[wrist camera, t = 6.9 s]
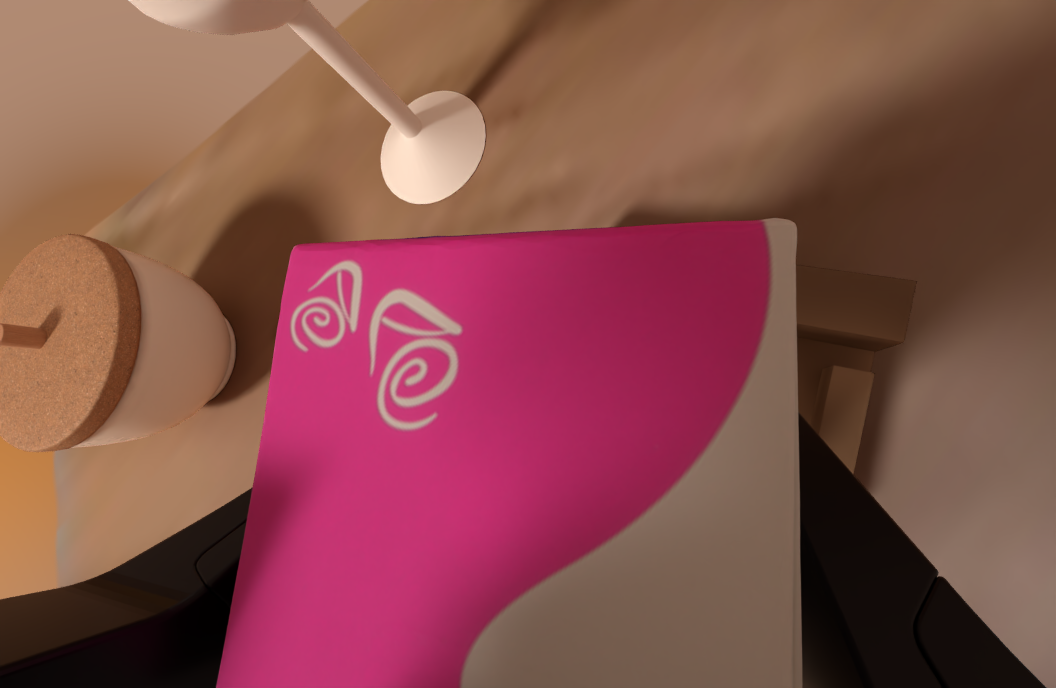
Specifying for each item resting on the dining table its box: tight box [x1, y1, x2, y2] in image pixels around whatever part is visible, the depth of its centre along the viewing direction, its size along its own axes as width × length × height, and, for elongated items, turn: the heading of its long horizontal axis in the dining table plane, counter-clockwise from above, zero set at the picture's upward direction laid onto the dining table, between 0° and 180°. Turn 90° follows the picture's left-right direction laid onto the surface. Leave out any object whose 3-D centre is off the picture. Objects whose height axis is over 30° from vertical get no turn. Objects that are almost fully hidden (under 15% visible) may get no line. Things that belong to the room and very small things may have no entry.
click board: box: [796, 265, 917, 474], centre depth 18 cm, size 18×12×4 cm, turn 165°
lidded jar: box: [0, 234, 236, 452], centre depth 25 cm, size 11×11×9 cm
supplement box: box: [216, 218, 802, 688], centre depth 10 cm, size 6×6×12 cm
